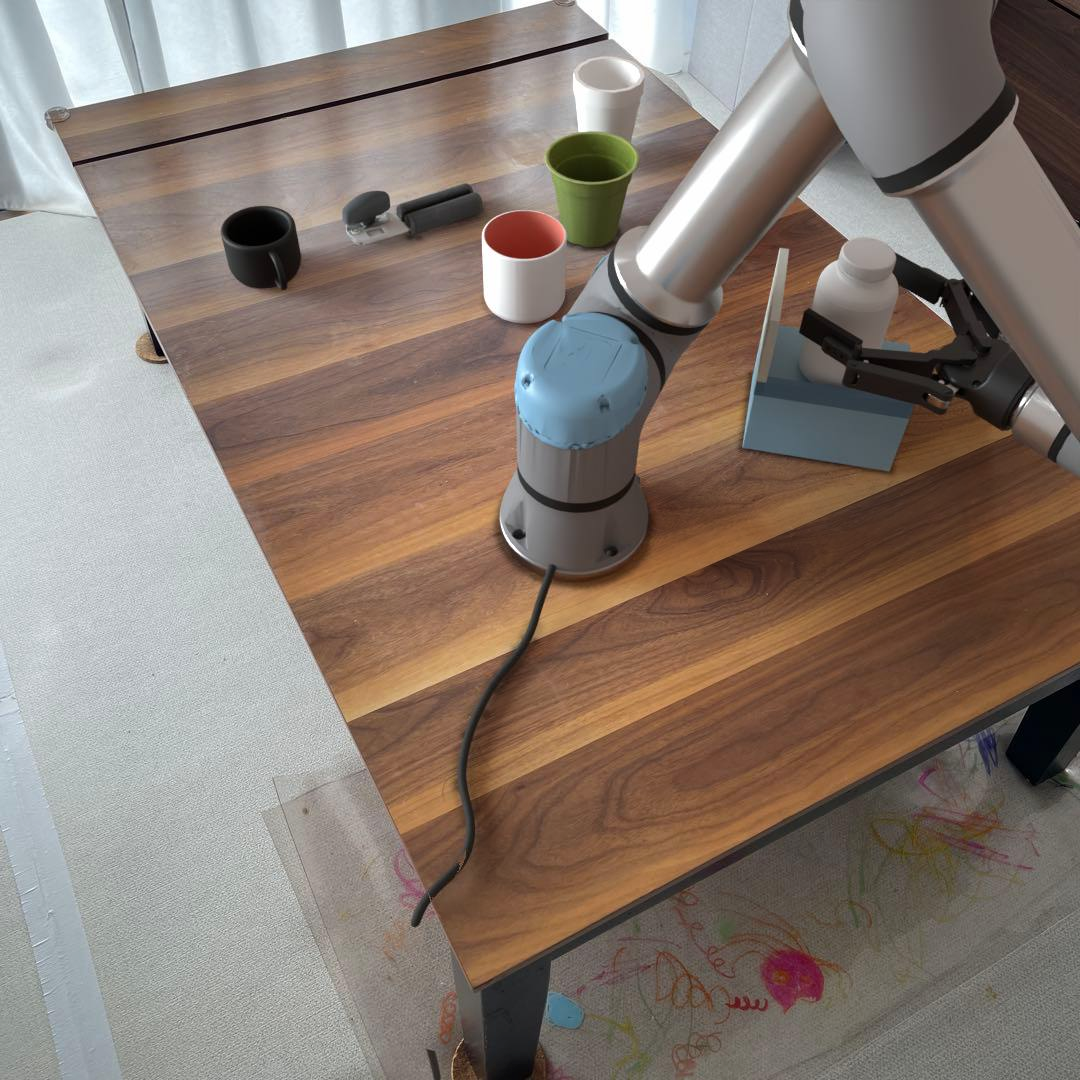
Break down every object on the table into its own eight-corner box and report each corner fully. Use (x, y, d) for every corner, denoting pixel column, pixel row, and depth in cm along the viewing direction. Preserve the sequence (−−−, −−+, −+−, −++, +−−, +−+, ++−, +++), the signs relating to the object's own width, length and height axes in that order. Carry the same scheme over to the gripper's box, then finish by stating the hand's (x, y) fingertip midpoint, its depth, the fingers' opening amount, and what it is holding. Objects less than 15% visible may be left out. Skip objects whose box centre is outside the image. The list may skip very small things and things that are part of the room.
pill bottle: (886, 367, 120) (925, 251, 108) (845, 405, 116) (880, 289, 104) (824, 334, 123) (855, 217, 111) (782, 369, 119) (810, 253, 108)
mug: (222, 264, 143) (210, 217, 137) (288, 244, 145) (279, 197, 140) (254, 318, 136) (242, 270, 130) (323, 296, 139) (315, 248, 133)
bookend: (889, 472, 121) (937, 344, 107) (742, 448, 123) (769, 320, 109) (891, 397, 128) (936, 269, 114) (752, 375, 130) (779, 247, 116)
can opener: (357, 260, 143) (351, 218, 139) (341, 239, 146) (334, 197, 141) (486, 216, 150) (485, 174, 145) (468, 197, 152) (466, 155, 148)
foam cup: (648, 156, 159) (657, 69, 149) (616, 187, 154) (622, 99, 144) (591, 136, 162) (596, 49, 152) (558, 166, 157) (560, 78, 147)
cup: (556, 333, 135) (558, 265, 127) (475, 322, 136) (472, 254, 128) (571, 283, 141) (574, 215, 133) (494, 272, 142) (492, 204, 134)
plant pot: (587, 195, 153) (590, 120, 144) (651, 233, 148) (659, 157, 139) (525, 231, 148) (524, 155, 139) (589, 271, 142) (593, 195, 134)
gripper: (942, 494, 100) (760, 375, 110) (1086, 368, 111) (909, 269, 121) (967, 436, 94) (773, 315, 104) (1117, 308, 105) (928, 210, 115)
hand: (846, 290), depth 112 cm, fingers open, 13 cm apart
